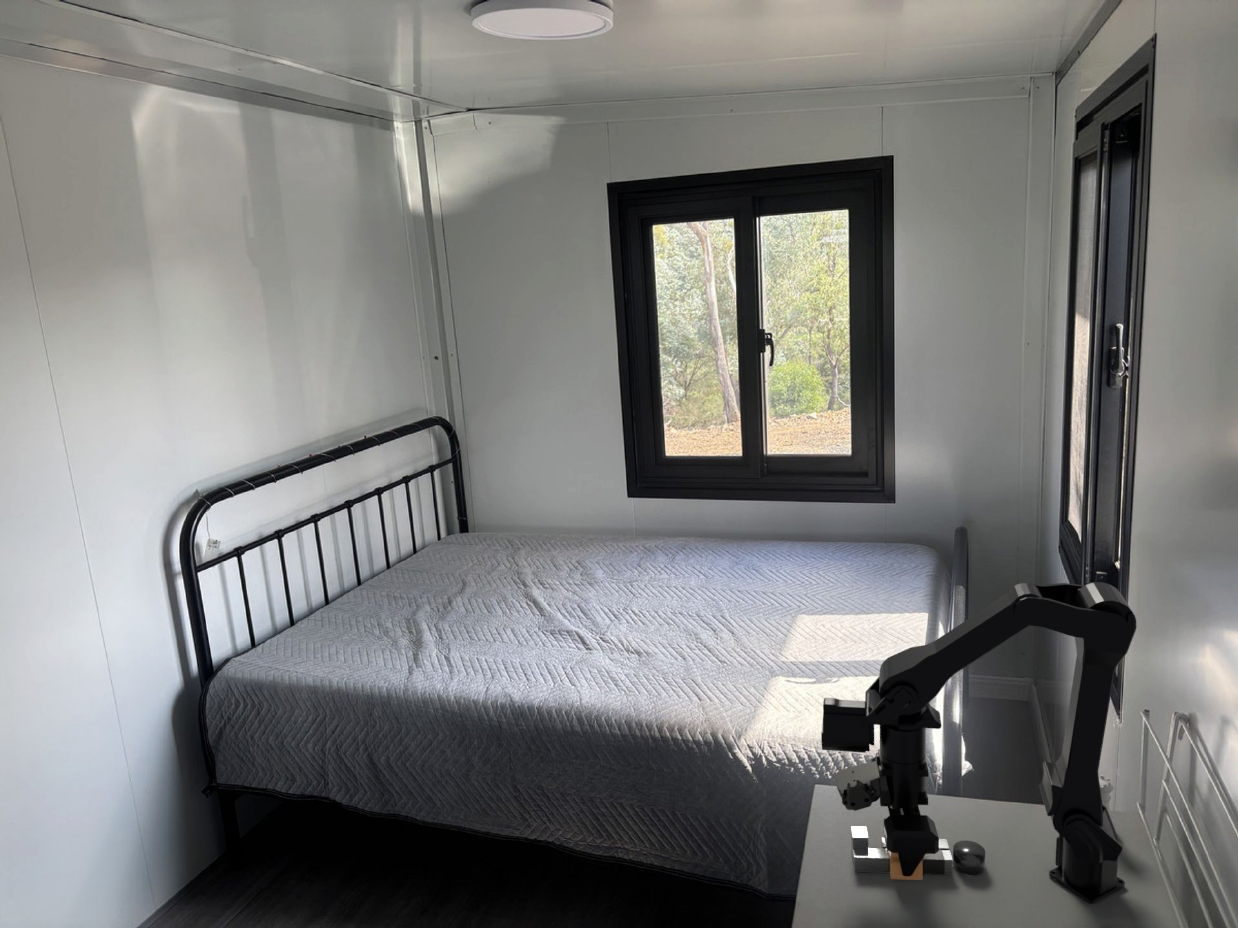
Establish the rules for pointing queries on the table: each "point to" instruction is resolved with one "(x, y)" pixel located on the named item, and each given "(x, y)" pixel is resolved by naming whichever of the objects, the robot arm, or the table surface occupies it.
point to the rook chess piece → (1106, 794)
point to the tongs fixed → (963, 856)
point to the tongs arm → (880, 858)
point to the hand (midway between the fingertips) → (902, 856)
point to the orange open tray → (897, 872)
